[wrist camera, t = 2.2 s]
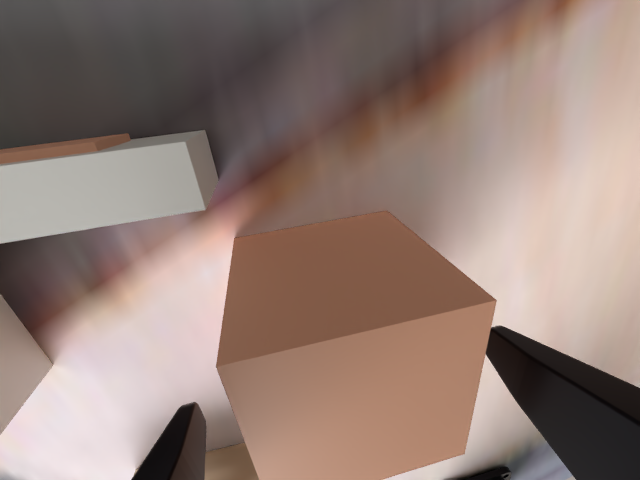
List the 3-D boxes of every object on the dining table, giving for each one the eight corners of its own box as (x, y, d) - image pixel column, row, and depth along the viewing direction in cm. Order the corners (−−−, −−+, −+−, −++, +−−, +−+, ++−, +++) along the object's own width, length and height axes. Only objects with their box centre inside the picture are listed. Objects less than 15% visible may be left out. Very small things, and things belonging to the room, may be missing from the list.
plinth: (203, 122, 9) (182, 131, 6) (218, 180, 10) (205, 209, 7) (-101, 161, 8) (-282, 191, 5) (-56, 221, 9) (-191, 275, 6)
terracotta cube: (386, 209, 12) (496, 300, 6) (386, 323, 14) (464, 453, 9) (234, 237, 11) (216, 367, 6) (265, 352, 14) (272, 513, 8)
